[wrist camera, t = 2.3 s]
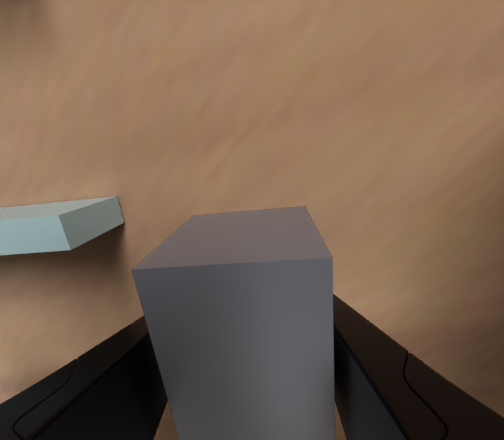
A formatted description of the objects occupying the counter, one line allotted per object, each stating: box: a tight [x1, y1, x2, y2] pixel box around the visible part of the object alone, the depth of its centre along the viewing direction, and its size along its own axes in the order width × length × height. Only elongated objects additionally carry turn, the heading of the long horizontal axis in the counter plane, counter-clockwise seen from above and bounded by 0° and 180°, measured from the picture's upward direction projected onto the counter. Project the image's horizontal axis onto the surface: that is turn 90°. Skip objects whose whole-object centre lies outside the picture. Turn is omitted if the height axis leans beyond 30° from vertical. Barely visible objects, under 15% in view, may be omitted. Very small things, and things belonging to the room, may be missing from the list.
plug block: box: [131, 206, 335, 440], centre depth 7 cm, size 4×6×4 cm
